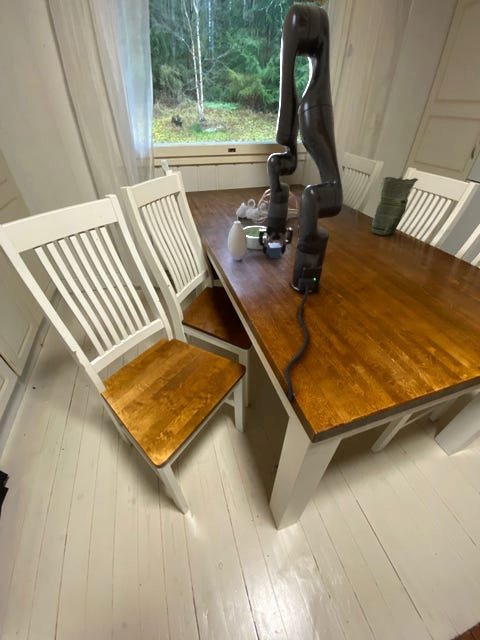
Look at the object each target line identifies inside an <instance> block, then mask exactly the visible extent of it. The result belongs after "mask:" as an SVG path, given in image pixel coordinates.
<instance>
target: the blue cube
mask: <svg viewBox="0 0 480 640" xmlns="http://www.w3.org/2000/svg"><path fill="white" fill-rule="evenodd" d="M281 246H282V245H281V244H280V242H272V243H268V247H267V256H268V258H269V259H281V255H282V253H281Z"/></svg>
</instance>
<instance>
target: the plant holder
mask: <svg viewBox="0 0 480 640" xmlns="http://www.w3.org/2000/svg"><path fill="white" fill-rule="evenodd" d="M268 192H270V188H269V189H267V190H266V191H265V192H264V193H263V194H262V195H261V198H260V199H259V201H258V203H257V204H256V201H255V200H254V199H253V198H250V199H248V201H247V204H245V203H244V202H242V203H241V205H240V206H239V208H237V210H236V212H235V215H236V216H237V215H238V218H241V219H244V218H247V220H250V221H252V222H253V223H255V224H256V222H255V221H261V222H259V224H262V223H263V221H262V220H264V219H266V218H267V217H268V205H269V199H268V200H265V198H267V197H270V193H268ZM292 198H293V199H294V201H295V208H288V214H287V219H289V218H297V216H296V214H298V212H300V203H299V200H298V197H297V196H296V195H294V194H293V193H292V191H290V190H289V199H288V201H290V199H292ZM256 206H257V207H256ZM294 214H295V215H294ZM264 215H265V216H264Z"/></svg>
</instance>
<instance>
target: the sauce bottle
mask: <svg viewBox="0 0 480 640" xmlns="http://www.w3.org/2000/svg"><path fill="white" fill-rule="evenodd" d="M244 228H245V227H243V225H242V222H241V221H239V216H238V215H236V220H235V221H234V222H233V225H232V226H231V228H230V230H229V232H228V237H227V251H228V254H229V255H230V257H231V259H233V260H235V261H240V260H242V259H243V258H245V256H246V254H247V251H248V248H247V237H246V233H245V231H244Z"/></svg>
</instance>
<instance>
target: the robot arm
mask: <svg viewBox="0 0 480 640" xmlns="http://www.w3.org/2000/svg"><path fill="white" fill-rule="evenodd" d="M330 32H331V29H330V18H329V14H328V12H327V10H326V9H325V8H323V7H321V6H316V5H309V4H302V3H294V4H292V5H291V6H290V7H289V8H288V9H287V11H286V14H285V17H284V20H283V26H282V33H281V42H280V43H281V45H280V47H281V48H280V74H279V75H280V76H279V77H280V79H279V80H280V81H279V84H280V85H279V90H280V91H279V107H278V117H277V124H276V132H275V143H276V144H277V145H279V146H281V147H284V149H285V151H284V152H277V153H272V154H271V155H270V156H269V157H268V158H267V161H266V173H267V178H268V184H269V189H270V191H269V194H270V196H269V199H268V200H269V205H268V211H267V212H268V214H267V215H268V216H267V217H266V220H267V221H266V229H265V230H261V229H259V244H260V245H261V246H263V249H262V254H264V256H268V254H267V250H268V247H267V245H268V243H270V241H271V240H272V241H276V240H277V241H278V240H279V241H280V240H281V242H282V243H281V245H280V246H281V255H284V254H285V253H286V250H287V245H291V244H292V240H293V235H294V229H293V228H292V227H288V228H287V222H288V217H287V216H288V215H289V214H288V209H289V200H290V199H289V197H290V195H289V191H290V185H289V184H288V183H286V182H281V177H289V176H292V175H294V173H295V172H296V171H297V169H298V165H299V152H298V149H299V148H298V138H299V137H300V141H301V143H302V145H303V148H304V149H305V150H306V152H307V154H308V155H309V156H310V158H311V159H312V160H313V162H314V164H315V165H316V167H317V170H318V173H319V177H320V183H315V184H309V185H307V186H306V187H304V189H303V191H302V193H301V197H300V203H299V210H300V211H299V214H298V215H299V216H298V225H297V227H298V235H297V236H298V237H297V243H296V250H295V256H294V263H293V264H294V265H293V271H292V277H291V282H290V286H291V288H292V289H293V290H294V291H297V292H298V293H299V294H304V297H303V299H302V301H301V302H300V306H299V310H298V313H297V314H298V315H297V316H298V322H299V325H300V327H301V329H302V331H303V334H304V342H303V344H302V346H301V348H300V350H299V352H298V353H297V354H296V356H295V357H294V358H292V359H291V360H290V361H289V362H288V364H287V365H286V367H285V371H284V378H285V382H286V384H287V390H288V391H287V392H288V393H287V394H288V395H287V399H288V400H289V401H292V400H293V398H294V388H293V382H292V380H291V376H290V371H291V368H292V367H293V365H295V364H296V362H297V361H299V359H300V358H301V357H303V355H304V353H305V351H306V349H307V347H308V343H309V331H308V328H307V327H306V325H305V323H304V321H303V316H302V315H303V309H304V306H305V304H306V302H307V300H308V296H309V294H313V293H318V291H319V286H320V281H321V277H322V272H323V265H324V261H325V257H326V251H327V249H328V248H327V247H328V242H329V238H330V232H329V230H328V229H326V228H325V227H322V226H320V225H318V220H319V219H327V218H334V217H337V216H338V215H339V214H340V212H342V208H343V204H344V190H343V184H342V183H343V182H342V178H341V173H340V167H339V161H338V153H337V145H336V135H335V132H336V131H335V118H334V117H335V115H334V106H333V99H332V85H331V84H332V83H331V66H330V65H331V54H330V53H331V52H330V51H331V49H330V48H331V47H330V46H331V33H330ZM297 57H301V58H308V61H309V80H308V83H307V85H306V88H305V91H304V93H303V94H302V97H301V100H300V96H299V92H298V88H297V82H296V72H295V69H296V61H297ZM288 199H289V200H288ZM265 233H267V236H266V238H265V240H264V242H263V235H264V234H265ZM285 234H287V236H286V239H285V237H284V235H285ZM274 468H275V469H278V468H279V464H274Z"/></svg>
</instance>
